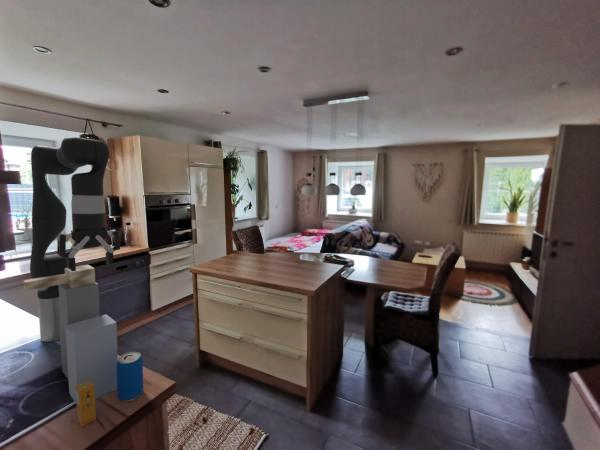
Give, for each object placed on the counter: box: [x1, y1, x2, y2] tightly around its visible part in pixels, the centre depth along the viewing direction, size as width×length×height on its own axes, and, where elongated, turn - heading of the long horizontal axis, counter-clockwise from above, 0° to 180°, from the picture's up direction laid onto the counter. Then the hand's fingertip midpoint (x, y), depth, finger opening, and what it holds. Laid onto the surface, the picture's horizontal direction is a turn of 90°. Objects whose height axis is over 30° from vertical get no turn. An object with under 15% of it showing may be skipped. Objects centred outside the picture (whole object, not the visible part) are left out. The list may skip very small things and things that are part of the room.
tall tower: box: [59, 281, 101, 381], centre depth 89 cm, size 12×8×30 cm, turn 53°
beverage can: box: [116, 351, 144, 402], centre depth 81 cm, size 6×6×12 cm
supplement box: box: [75, 380, 97, 428], centre depth 72 cm, size 3×3×10 cm
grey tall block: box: [65, 314, 119, 404], centre depth 82 cm, size 8×10×21 cm
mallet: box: [23, 264, 96, 292], centre depth 83 cm, size 16×6×5 cm, turn 143°
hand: (91, 267), depth 80 cm, fingers open, 8 cm apart
